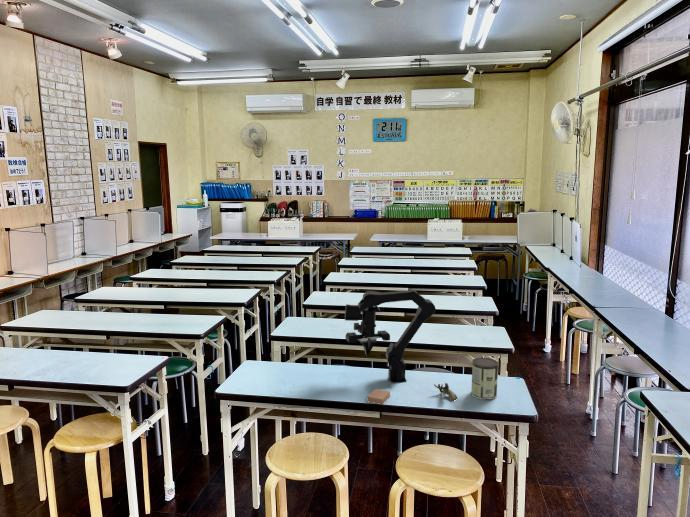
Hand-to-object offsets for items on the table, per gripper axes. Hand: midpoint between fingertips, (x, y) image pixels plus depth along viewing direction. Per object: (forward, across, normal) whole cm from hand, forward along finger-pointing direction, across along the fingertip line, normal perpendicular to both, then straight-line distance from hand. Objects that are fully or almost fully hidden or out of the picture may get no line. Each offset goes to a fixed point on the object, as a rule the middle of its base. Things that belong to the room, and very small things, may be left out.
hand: (367, 355), depth 222 cm
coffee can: (+10, -42, +28) cm, 51 cm away
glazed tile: (+10, -2, +17) cm, 20 cm away
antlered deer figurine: (+10, -26, +26) cm, 38 cm away
